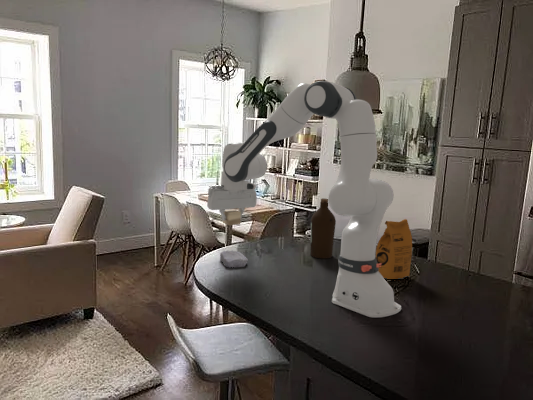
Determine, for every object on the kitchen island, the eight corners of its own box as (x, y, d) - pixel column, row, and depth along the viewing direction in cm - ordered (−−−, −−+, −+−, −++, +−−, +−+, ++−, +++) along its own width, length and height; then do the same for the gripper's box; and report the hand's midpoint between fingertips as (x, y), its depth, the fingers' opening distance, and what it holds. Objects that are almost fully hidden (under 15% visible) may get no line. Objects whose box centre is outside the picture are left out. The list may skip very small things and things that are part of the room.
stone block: (240, 262, 183) (217, 259, 179) (242, 251, 182) (220, 248, 179) (249, 272, 172) (225, 269, 168) (251, 260, 172) (227, 257, 168)
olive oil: (336, 254, 193) (340, 198, 189) (328, 260, 183) (332, 201, 179) (314, 250, 198) (317, 196, 194) (305, 256, 188) (308, 199, 184)
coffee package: (369, 274, 167) (374, 218, 164) (394, 271, 173) (399, 216, 169) (388, 283, 159) (393, 224, 155) (413, 279, 164) (418, 221, 161)
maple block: (240, 224, 171) (240, 211, 171) (228, 225, 169) (229, 212, 168) (234, 221, 176) (234, 209, 175) (223, 222, 173) (223, 210, 172)
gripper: (212, 186, 161) (211, 223, 164) (259, 184, 172) (257, 219, 175) (205, 184, 166) (204, 219, 169) (251, 182, 177) (249, 216, 180)
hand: (231, 219), depth 172 cm, fingers closed on maple block, 5 cm apart
